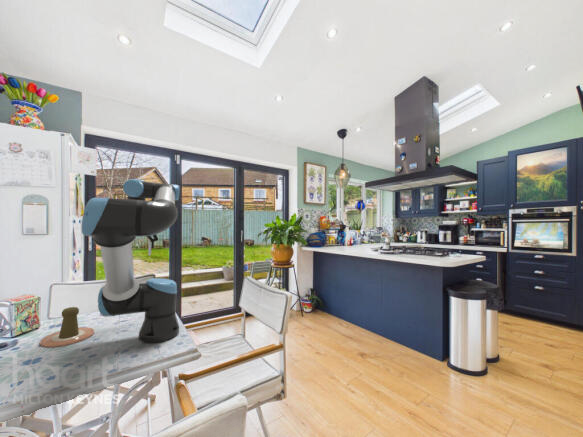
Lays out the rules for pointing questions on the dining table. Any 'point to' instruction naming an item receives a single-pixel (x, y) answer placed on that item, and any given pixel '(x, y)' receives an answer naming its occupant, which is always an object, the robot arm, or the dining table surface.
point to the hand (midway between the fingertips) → (133, 255)
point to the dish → (55, 341)
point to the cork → (69, 323)
